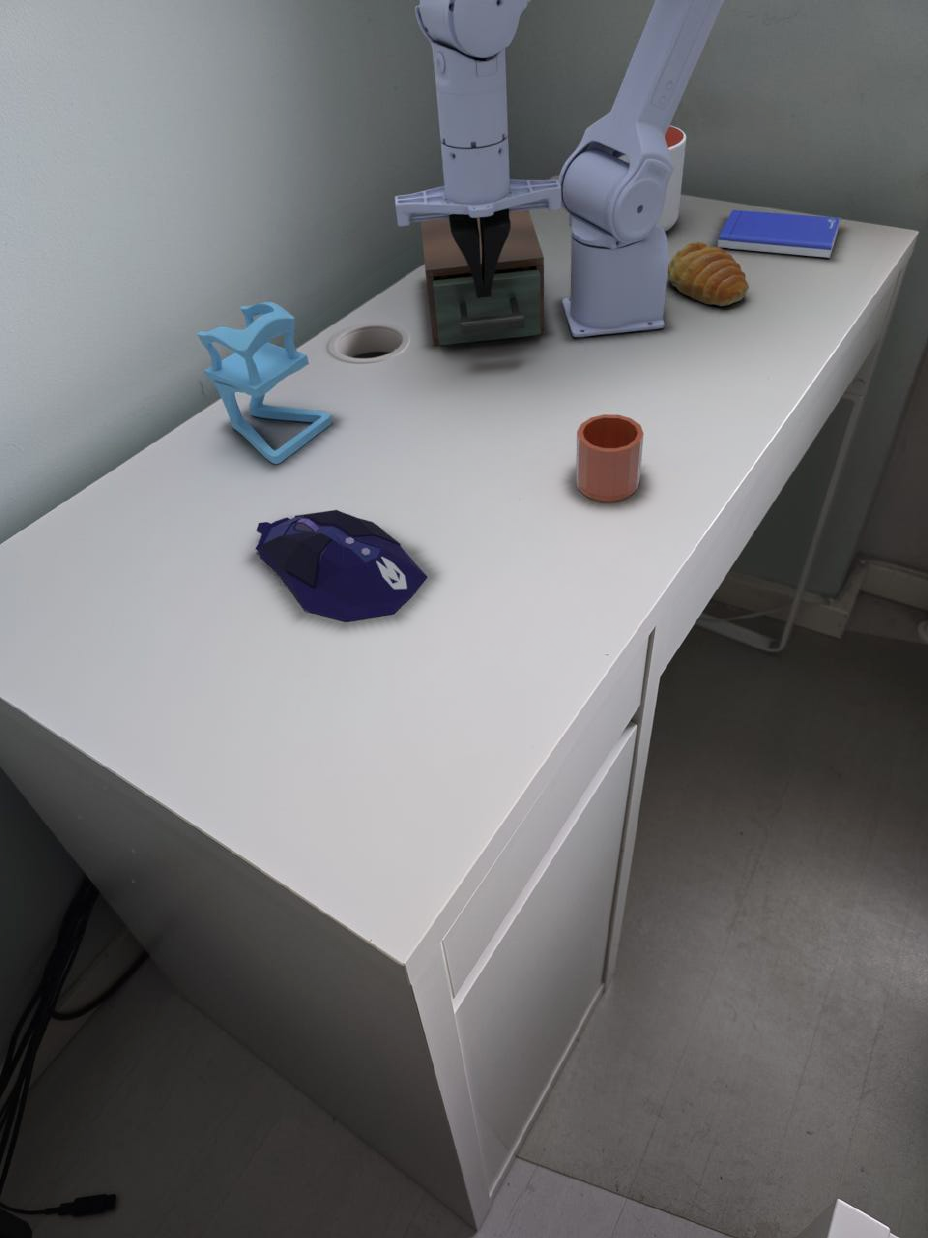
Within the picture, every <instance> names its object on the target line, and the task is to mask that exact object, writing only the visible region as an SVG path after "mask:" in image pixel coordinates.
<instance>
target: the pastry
mask: <svg viewBox="0 0 928 1238" xmlns="http://www.w3.org/2000/svg"><path fill="white" fill-rule="evenodd" d="M667 277H668V278H669V282H670V283H671V285H672V287H675V288H676V289H677V291H678V292H679V293H682V294H683V295H685V296H688V297H690V298H691V299H693V300H694V301H695V300H696V301H698V302H699V303H703V304H705V305H717V306H720V307H725V306H729V305H731V304H734V303H737V302H739V301H741V300H743V299H744V297H745V295H746V293H747V292H748V290H749V288H750V287H749V286H750V285H749V283H748V282H747V279H746V277H747V276H746V273H745V272H744V271H742V267H741V264H739V263H738V262H737V261H736V260H735V258H733V256H732V254H731V253H727V252H726V251H725V250H724V248H722V247H718V246H716V247H715V246H714V247H710V246H709V244H708V243H706V242H703V241H695V242H690V243H688V244H686V245H685V246H684V247H683V248H682V249H680V250H678V251H677V252H676V253H675V255H674V256H673V258H672V259H671V260H670V262H669V263H668V274H667Z"/></svg>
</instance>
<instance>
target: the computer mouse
mask: <svg viewBox="0 0 928 1238" xmlns="http://www.w3.org/2000/svg"><path fill="white" fill-rule="evenodd" d="M255 531H256V532H257V533H259V534H260V537H259V541H258V543H257V545H256V547H255V548H254V550H255V551H257V552H258V554H259V558H260V559H261V560H262V561H263V562H264V563H265V564H267V565H268V566H269V567H270V568H271V569H273V570H274V571H275V572H276V574H277V575H278V577H279V578H280V579H281V581H282V582H283V583H284V584H285V586H286V588H287V589H288V590H289V591H290V593H291V594H292V595H293V597H294V599H295V600H296V601H297V603H298V604H299V605H300V607H301V608H302V609H303V611H304V612H307V613H310V614H315V615H319V616H323V617H327V618H331V619H335V620H339V621H342V622H351V621H357V620H364V619H371V618H377V617H383V616H389V615H395V614H396V613H397V612H398V611H399V610H400V609H401V608H402V607H403V606H404V605H405V604H406V603H407V602H408V601H409V600H410V599H411V598H412V597H413V596H414V594H415V593H416V592H417V591H418V589H419V588H420V587H421V586H422V585H423V584H424V582H425V580H427V579H428V576H427V574H426V573H425V572H424V571H423V569H421V567H420V566H419V565H418V564H417V563H416V562H415V561H414V560H413V559H412V558H411V556H409V555H408V553H407V552H406V551H405V549H404V548H403V547H402V546H401V545H402V543H400V542H399V541H397V539H396V538H394V537H393V536H391V535H390V534H389V533H388V532H386V531H385V530H384V529H383V528H381V527H380V526H379V525H378V524H376V523H375V522H374V521H371V520H367V519H363V518H359V517H357V516H353V515H351V514H348V513H346V512H343V511H341V510H339V509H332V510H326V511H320V512H319V511H317V512H311V513H305V514H296V515H294V516H293V517H292V518H289V517H284V518H281V519H278V520H275V521H273V522H268V521H263V522H258V525H257V527H256V530H255Z"/></svg>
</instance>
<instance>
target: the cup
mask: <svg viewBox="0 0 928 1238" xmlns="http://www.w3.org/2000/svg"><path fill="white" fill-rule="evenodd" d="M665 140H666V143H667V146H668V149H669V152H670V155H671V158H672V161H673V164H674V170H673V172H672V174H671V176H670V179H669V182H668V184H667V188H666V194H665V203H664V208H663V211H662V214H661V216H660V218H659V220H658V222H657V224H656V225H657V226H662V227H663V228H664V230H665V233H666V232H667V231H669V230H670V229H671V228H673V226H674V225H675V224H676V222H677V220H678V218H679V215H680V214H679V213H680V206H681V205H680V204H681V203H680V202H681V195H682V184H683V174H684V166H685V155H686V145H687V135H686V133H685V131H683V130H682V129H681V128H679V127H677V126H673V125H671V124H670V125H669V128H668V130H667V132H666V134H665ZM619 159H621V160H623V161H625V162H628V163H630V162H629V158H628V157H627V156H626V155H623V156H621V157H620V158H619Z"/></svg>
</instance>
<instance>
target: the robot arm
mask: <svg viewBox="0 0 928 1238" xmlns="http://www.w3.org/2000/svg"><path fill="white" fill-rule="evenodd" d="M532 1H533V0H419V4H418V5H416V6H415V7H414V12H415V18H416V22H417V25H418V26H419V30H420V31H421V33H422V34H423V35H424V37H425V38H426V39H427V40H428V42H429V44H430V46H431V50H432V60H433V68H434V69H433V70H434V79H435V80H434V81H435V82H434V83H435V94H436V104H437V105H436V106H437V117H438V128H439V129H438V130H439V139H440V150H441V151H440V152H441V162H442V163H441V164H442V177H443V185H442V186H437V187H433V188H429V189H426V190H421V191H418V192H414V193H409V194H403V195H402V194H401V195H395V196H394V203H395V204H394V205H395V213H396V221H397V227H408V226H410V225H411V223H418V222H421V221H428V220H438V219H447V218H449V222H450V228H451V233H452V235H453V238H454V240H455V242H456V243H457V245H458V247H459V248H460V250H461V252H462V254H463V256H464V258H465V260H466V262H467V264H468V267H469V269H470V272H471V274H472V277H473V281H474V284H475V290H476V296H477V298H481V297H491V296H492V284H493V278H494V273H495V269H496V265H497V262H498V259H499V256H500V253H501V251H502V248H503V246H504V244H505V241H506V239H507V237H508V235H509V232H510V228H511V221H510V218H509V212H514V211H524V210H529V211H532V210H533V211H534V210H542V209H547V210H549V211H561V210H562V208H563V210H565V211H566V212H567V213H568V225H569V226H570V227H571V241H570V242H571V245H570V247H571V248H570V297H564V298H562V300H561V305H562V308H563V311H564V314H565V317H566V320H567V324H568V326H569V329H570V332H571V336H572V337H574V338H584V337H591V336H601V335H612V334H620V333H631V332H639V331H650V330H659V329H663V328H665V325H666V323H665V321H664V317H665V316H664V315H665V303H666V293H667V284H668V283H667V282H668V265H669V242H668V237H667V233H666V232H665V230H664V228H663V227H662V226H657V225H656V224H657V222H658V220H659V218H660V216H661V214H662V211H663V208H664V203H665V194H666V188H667V184H668V182H669V179H670V176H671V174H672V172H673V170H674V164H673V161H672V158H671V155H670V152H669V149H668V146H667V143H666V140H665V134H666V132H667V130H668V128H669V125H670V126H671V123H672V120H673V119H674V116H675V114H676V112H677V109H678V107H679V105H680V102H681V100H682V97H683V96H684V93H685V91H686V88H687V87H688V84H689V82H690V79H691V77H692V75H693V73H694V70H695V69H696V66H697V63H698V61H699V60H700V57H701V54H702V52H703V50H704V48H705V45H706V43H707V41H708V38H709V36H710V34H711V32H712V29H713V28H714V25H715V23H716V20H717V18H718V16H719V13H720V11H721V10H722V7H723V4H724V2H725V0H654V3H653V5H652V8H651V11H650V13H649V16H648V18H647V20H646V23H645V24H644V28H643V30H642V32H641V35H640V38H639V40H638V42H637V45H636V47H635V50H634V52H633V55H632V58H631V60H630V62H629V64H628V67H627V69H626V72H625V74H624V77H623V80H622V82H621V84H620V86H619V89H618V92H617V94H616V97H615V99H614V102H613V104H612V106H611V109H610V111H609V112H608V113H607V114H606V115H604V116H603V117H601V118H599V119H598V120H597V121H595V122H593V123H591V125H589V126H588V127H587V128H586V129H585V130H584V133H583V136H582V138H581V140H580V143H579V144H578V146H577V147H576V149H575V150H574V151H573V152H572V153H571V155H570V156H569V157H568V158H567V159H566V160H565V162H564V163H563V166H562V167H561V170H560V172H559V175H558V179H557V178H556V179H510V151H509V148H510V147H509V123H508V97H507V96H508V95H507V91H508V90H507V61H506V60H507V59H506V48H509V46H510V45H511V43H512V41H513V40H514V38H515V35H516V33H517V31H518V27H519V23H520V19H521V15H522V13H523V11H524V10H525V9H526V8H527V7H528V5H529V4H530V3H531V2H532ZM623 155H626V156H627V157H628V158H629V162H630V163H628V162H625V161H623V160H621V159H619V158H620V157H621V156H623ZM478 217H479V218H480V231H481V245H482V272H481V262H480V234H479V229H478V221H477V218H478Z"/></svg>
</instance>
